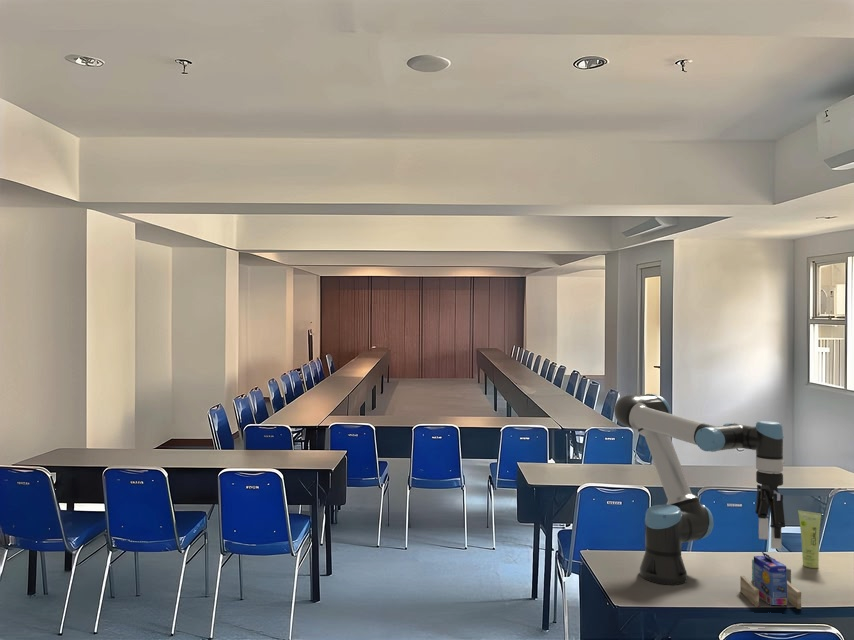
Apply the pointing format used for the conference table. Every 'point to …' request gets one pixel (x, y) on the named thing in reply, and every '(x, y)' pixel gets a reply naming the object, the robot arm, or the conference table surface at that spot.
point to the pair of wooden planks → (753, 592)
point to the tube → (810, 537)
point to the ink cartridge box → (770, 580)
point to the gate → (787, 572)
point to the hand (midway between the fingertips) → (769, 543)
